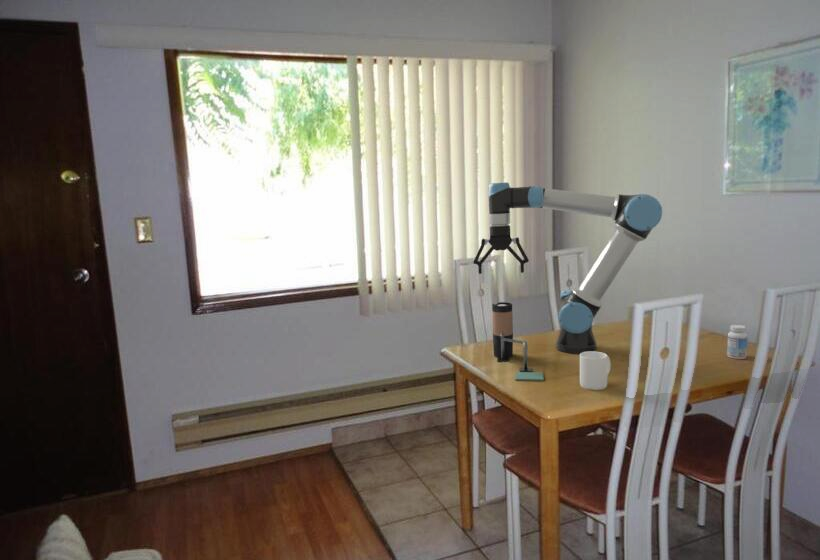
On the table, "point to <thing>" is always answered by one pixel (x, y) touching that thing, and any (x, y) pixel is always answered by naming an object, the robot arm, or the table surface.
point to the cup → (594, 370)
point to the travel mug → (502, 328)
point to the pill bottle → (737, 342)
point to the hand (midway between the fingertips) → (501, 282)
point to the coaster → (529, 376)
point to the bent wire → (505, 359)
